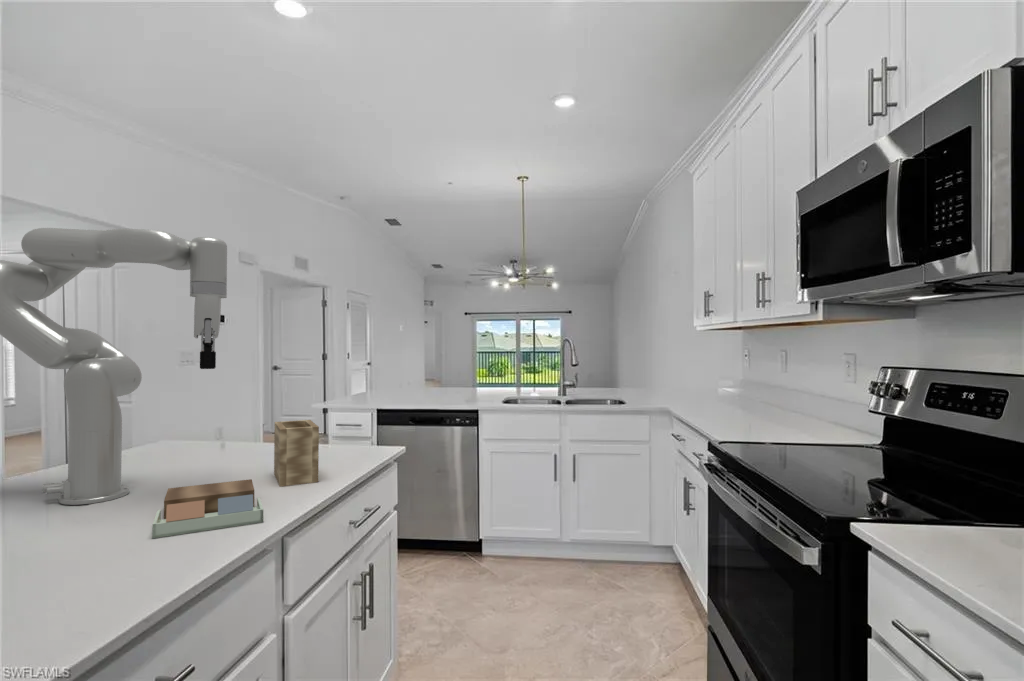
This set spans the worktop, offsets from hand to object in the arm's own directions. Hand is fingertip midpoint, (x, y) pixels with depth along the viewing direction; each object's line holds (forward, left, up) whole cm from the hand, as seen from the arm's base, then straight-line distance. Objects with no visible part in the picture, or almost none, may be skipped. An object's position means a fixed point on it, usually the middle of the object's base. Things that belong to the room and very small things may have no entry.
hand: (207, 368), depth 123 cm
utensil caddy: (+20, +4, -29) cm, 36 cm away
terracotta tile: (-3, -25, -25) cm, 35 cm away
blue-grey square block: (+5, -25, -25) cm, 35 cm away
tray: (+1, -24, -29) cm, 38 cm away
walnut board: (+1, -14, -29) cm, 32 cm away
